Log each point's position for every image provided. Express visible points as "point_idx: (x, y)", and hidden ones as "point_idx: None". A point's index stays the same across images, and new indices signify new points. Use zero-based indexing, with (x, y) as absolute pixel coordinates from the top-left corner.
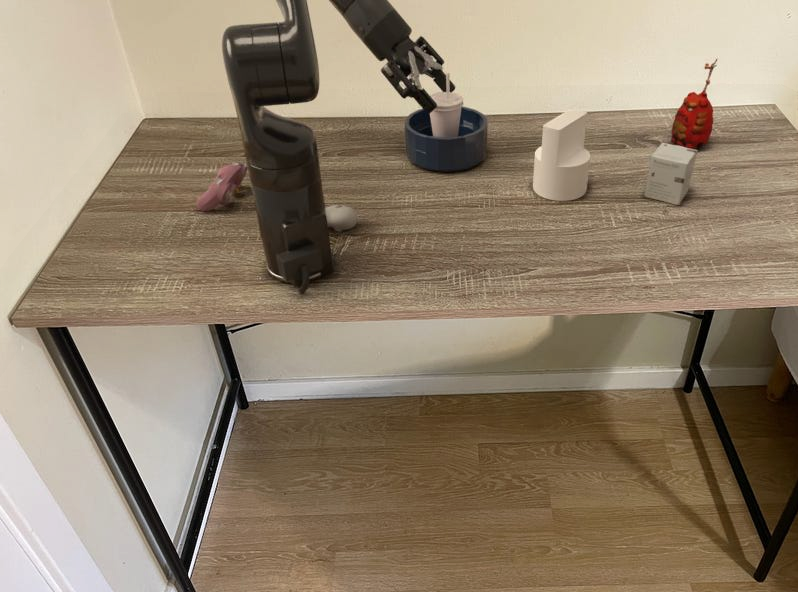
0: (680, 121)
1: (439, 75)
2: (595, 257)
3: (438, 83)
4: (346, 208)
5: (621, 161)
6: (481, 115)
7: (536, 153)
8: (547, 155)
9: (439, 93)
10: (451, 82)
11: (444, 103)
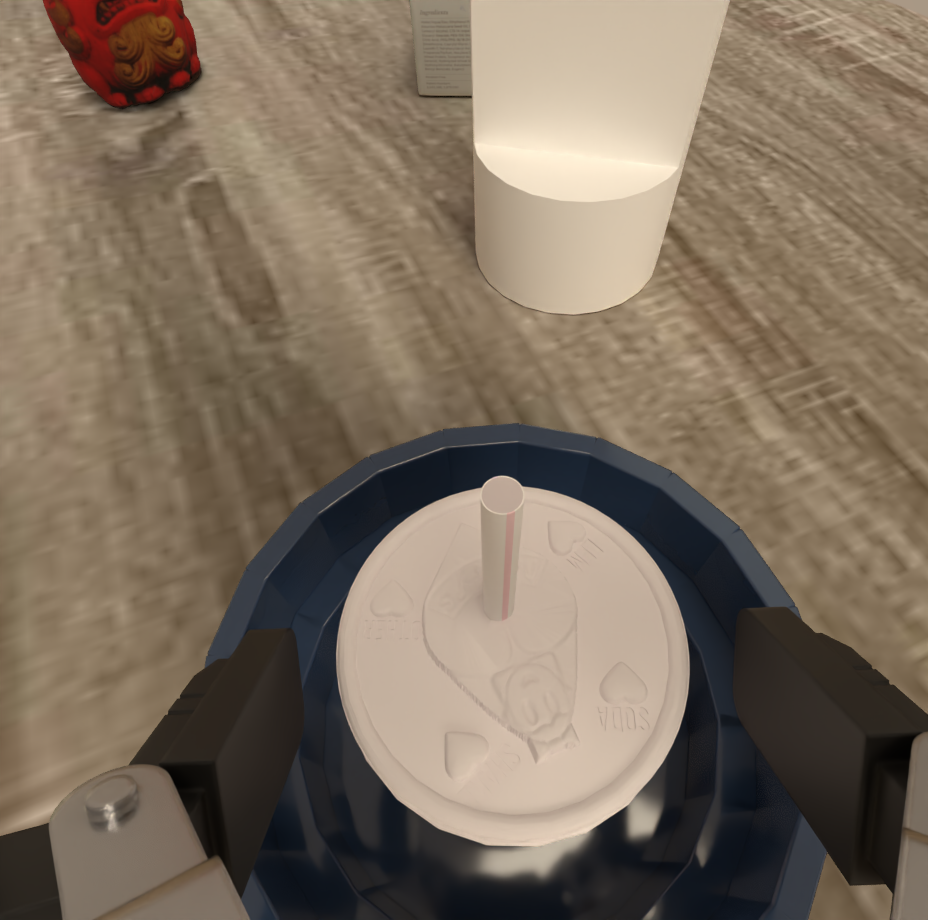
0: (140, 16)
1: (227, 791)
2: (866, 111)
3: (258, 817)
4: None
5: (311, 170)
6: (330, 500)
7: (624, 192)
8: (697, 114)
9: (395, 753)
10: (244, 654)
11: (606, 599)
